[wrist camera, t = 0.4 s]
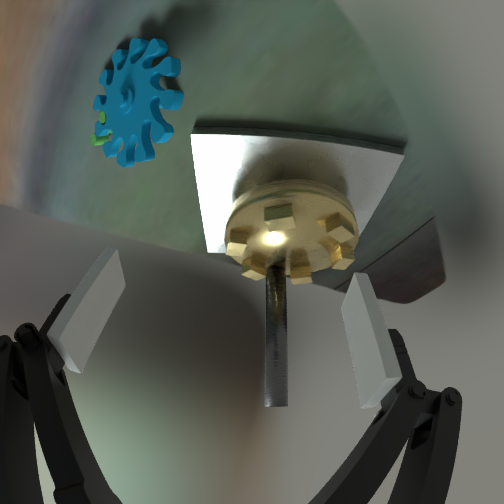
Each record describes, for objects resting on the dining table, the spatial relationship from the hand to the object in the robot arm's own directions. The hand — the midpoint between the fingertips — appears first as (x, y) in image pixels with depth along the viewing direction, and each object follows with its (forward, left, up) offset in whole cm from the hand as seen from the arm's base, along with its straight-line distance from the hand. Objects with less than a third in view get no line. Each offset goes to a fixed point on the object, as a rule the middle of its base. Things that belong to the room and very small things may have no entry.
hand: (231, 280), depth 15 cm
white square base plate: (+11, +6, -15) cm, 19 cm away
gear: (-4, -8, -15) cm, 18 cm away
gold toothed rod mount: (+11, +6, -12) cm, 17 cm away
